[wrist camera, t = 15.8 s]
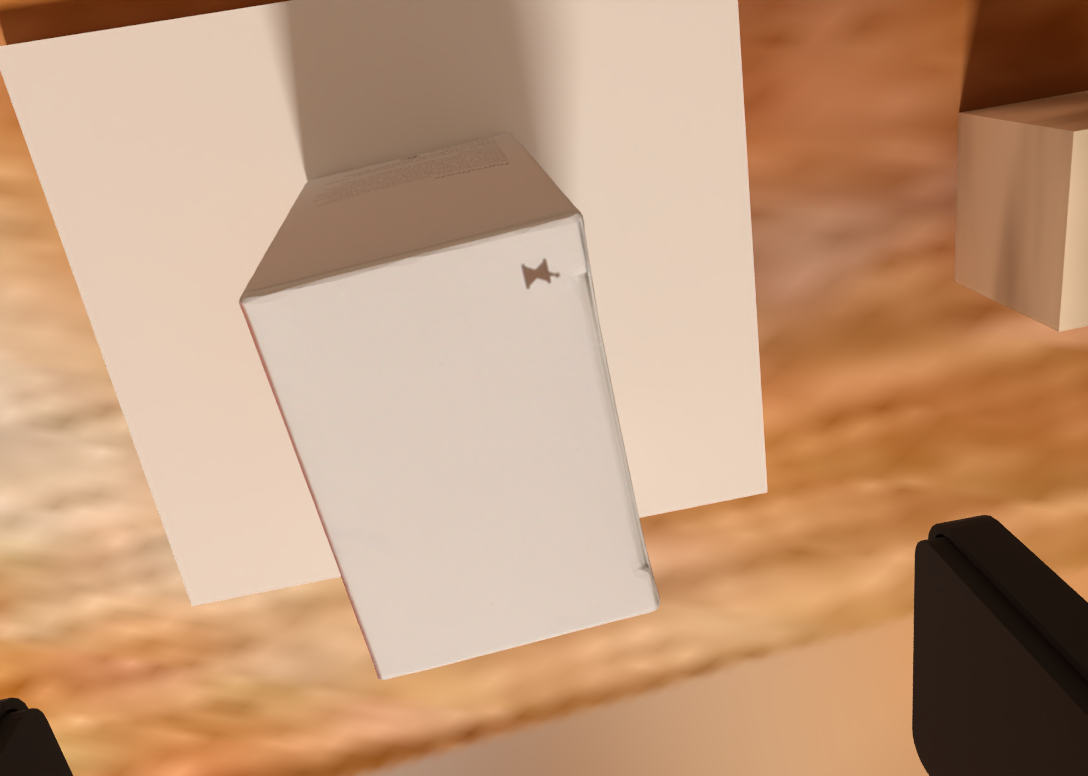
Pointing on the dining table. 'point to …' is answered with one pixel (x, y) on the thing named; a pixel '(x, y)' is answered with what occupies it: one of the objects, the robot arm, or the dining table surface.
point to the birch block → (1026, 207)
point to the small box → (452, 403)
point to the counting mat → (372, 138)
